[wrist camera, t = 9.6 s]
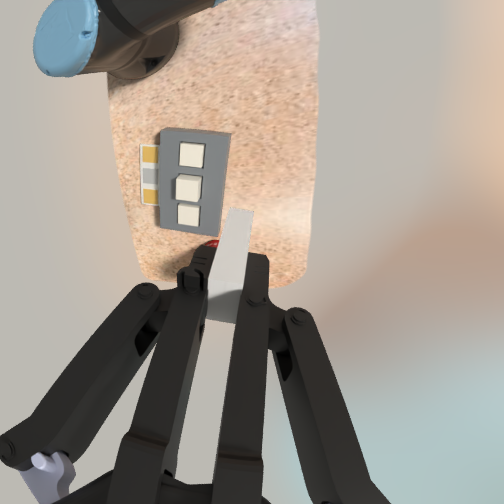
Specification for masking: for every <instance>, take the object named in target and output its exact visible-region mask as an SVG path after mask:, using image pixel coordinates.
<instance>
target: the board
mask: <svg viewBox="0 0 504 504" xmlns="http://www.w3.org/2000/svg"><path fill="white" fill-rule="evenodd" d="M230 140H231V133H224V132H216V131H207V130H196V129H185V128H170V127H166V128H164V129H163V130H161V133H160V164H159V200H160V228H164V229H171V230H177V231H183V232H190V233H196V234H202V235H208V236H214V237H218V234H219V231H220V225H221V216H222V206H223V197H224V189H225V180H226V172H227V164H228V156H229V148H230ZM183 141H184V142H194V143H204V144H206V148H205V159H204V165H203V166H202V168H199V167H190V166H181V165H179V163H180V145H181V143H182V142H183ZM180 174H185V175H193V176H201V177H202V180H201V194H200V198H199V200H198V202H192V201H185V200H177V199H176V179H177V177H178V176H179V175H180ZM179 203H184V204H191V205H198V206H201V212H200V223H199V225H198V227H197V226H191V225H184V224H178V205H179Z"/></svg>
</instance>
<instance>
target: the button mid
mask: <svg viewBox="0 0 504 504" xmlns="http://www.w3.org/2000/svg"><path fill="white" fill-rule="evenodd" d="M201 180H202V177H201V176H193V175H185V174H180V175H179V176H178V177H177V179H176V199H177V200H185V201H192V202H198V200H199V198H200V194H201Z"/></svg>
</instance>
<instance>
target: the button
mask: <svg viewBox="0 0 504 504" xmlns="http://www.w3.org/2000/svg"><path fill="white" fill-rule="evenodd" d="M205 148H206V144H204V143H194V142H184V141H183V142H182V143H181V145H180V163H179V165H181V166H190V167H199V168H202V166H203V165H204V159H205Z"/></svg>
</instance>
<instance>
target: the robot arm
mask: <svg viewBox="0 0 504 504" xmlns="http://www.w3.org/2000/svg"><path fill="white" fill-rule="evenodd" d="M224 1H227V0H54V1H53V2H52V3H51V4H50V5H49V6H48V8H47V9H46V10H45V12H44V13H43V15H42V17H41V19H40V21H39V23H38V25H37V28H36V34H35V37H34V42H33V53H34V58H35V61H36V64H37V66H38V67H39V69H40V70H41V71H42V72H43V73H44V74H46V75H48V76H52V77H73V76H75V75H80V74H88V73H97V72H108V73H110V74H111V75H113V76H115V77H117V78H121V79H139V78H144V77H147V76H149V75H152V74H153V73H155V72H157V71H158V70H160V69H161V68H162V67H163V66H164V65H165V64H166V63H167V62H168V61H169V60H170V58H171V57H172V55H173V54H174V52H175V50H176V47H177V44H178V40H179V28H178V24H177V22H178V21H180V20H182V19H184V18H186V17H189V16H191V15H193V14H195V13H198V12H200V11H202V10H205V9H207V8H213V7H215V6H217V5H218V4H219V3H222V2H224ZM253 214H254V211H249V210H243V209H237V208H231V207H230V209H229V212H228V215H227V218H226V221H225V224H224V228H223V231H222V234H221V237H220V241H219V244H218V247H217V248H216V247H210V246H204V245H201V246H200V247H199V248H197V249H196V250H195V253H194V255H193V258H192V260H191V263H190V265H189V266H188V267H184V268H182V269H180V270H179V271H178V273H177V287H176V288H174V289H169V290H159V289H158V287H157V286H156V285H154V284H152V283H141V284H138V285H137V286H135V287H134V288H133V289H132V290H131V291H130V292H129V293H128V294H127V296H126V297H125V298H124V299H123V300H122V301H121V302H120V304H119V305H118V306H117V307H116V308H115V309H114V310H113V311H112V313H111V314H110V315H109V316H108V317H107V318H106V319H105V321H104V322H103V323H102V324H101V325H100V326H99V328H98V329H97V330H96V331H95V333H94V334H93V335H92V336H91V337H90V338H89V340H88V341H87V342H86V343H85V345H84V346H83V347H82V348H81V349H80V351H79V352H78V353H77V355H76V356H75V357H74V358H73V360H72V361H71V362H70V363H69V364H68V366H67V367H66V369H65V370H64V371H63V372H62V373H61V375H60V376H59V378H58V379H57V380H56V381H55V383H54V384H53V385H52V387H51V388H50V390H49V391H48V393H47V394H46V395H45V396H44V398H43V399H42V400H41V402H40V403H39V405H38V406H37V407H36V409H35V410H34V412H33V413H32V415H31V416H30V417H28V418H27V419H25V420H24V421H22V422H21V423H19V424H18V425H16V426H15V427H13V428H11V429H10V430H8V431H7V432H5V433H4V434H2V435H1V436H0V459H1V461H2V462H3V463H4V464H5V465H7V466H9V467H12V468H14V469H16V470H18V471H19V472H20V474H21V476H22V477H23V479H24V481H25V482H26V484H27V486H28V487H29V489H30V490H31V492H32V493H33V495H34V496H35V498H36V499H37V501H38V502H39V504H271V503H270V502H269V501H268V500H267V499H265V498H264V497H263V496H262V483H263V467H264V466H263V460H262V455H261V454H262V439H263V424H264V408H265V391H266V374H267V355H268V349H270V350H272V353H273V358H274V362H275V366H276V369H277V374H278V378H279V381H280V385H281V390H282V394H283V398H284V402H285V406H286V409H287V413H288V417H289V421H290V425H291V429H292V433H293V437H294V441H295V445H296V449H297V453H298V457H299V461H300V464H301V469H302V472H303V476H304V480H305V484H306V487H307V490H308V494H309V496H310V498H311V500H312V502H313V504H391V503H390V502H389V501H388V500H387V499H386V497H385V496H384V495H383V494H382V493H381V491H380V490H379V489H378V488H377V487H376V486H375V484H374V483H373V482H372V481H371V479H370V476H369V473H368V470H367V466H366V463H365V460H364V457H363V454H362V451H361V448H360V445H359V442H358V439H357V436H356V433H355V430H354V427H353V424H352V421H351V418H350V416H349V413H348V410H347V407H346V404H345V401H344V399H343V396H342V393H341V390H340V388H339V385H338V382H337V379H336V377H335V374H334V371H333V369H332V366H331V363H330V361H329V358H328V355H327V353H326V350H325V347H324V345H323V342H322V340H321V337H320V334H319V332H318V329H317V327H316V324H315V322H314V319H313V317H312V315H311V314H310V313H309V312H308V311H307V310H305V309H302V308H297V307H294V308H290V309H288V310H287V311H285V310H283V309H281V308H279V307H277V306H275V305H274V304H273V303H272V302H271V301H270V299H269V296H268V287H269V260H268V258H267V256H266V255H263V254H257V253H250V252H248V249H249V242H250V235H251V228H252V221H253ZM205 319H210V320H216V321H221V322H227V323H233V324H236V325H235V331H234V337H233V344H232V351H231V357H230V365H229V371H228V378H227V385H226V392H225V399H224V406H223V412H222V419H221V426H220V433H219V440H218V447H217V454H216V461H215V467H214V474H213V480H212V484H193V485H190V484H185V483H183V482H181V481H179V480H176V479H175V474H176V468H177V454H178V449H179V443H180V438H181V433H182V428H183V423H184V418H185V414H186V408H187V404H188V399H189V395H190V390H191V385H192V381H193V376H194V371H195V367H196V363H197V358H198V354H199V349H200V345H201V341H202V336H203V332H204V328H205ZM156 343H157V344H156ZM155 344H156V347H155V350H154V353H153V356H152V359H151V362H150V365H149V368H148V371H147V374H146V377H145V380H144V383H143V387H142V390H141V393H140V396H139V400H138V403H137V406H136V410H135V413H134V417H133V420H132V424H131V427H130V429H129V431H128V432H127V433H126V434H125V435H124V436H123V438H122V441H121V443H120V447H119V451H118V455H117V459H116V463H115V467H114V469H113V470H111V471H109V472H107V473H105V474H103V475H102V476H100V477H99V478H97V479H95V480H94V481H92V482H90V483H89V484H87V485H85V486H83V487H82V488H80V489H78V490H76V491H75V492H73V493H71V494H69V485H70V483H71V482H72V481H73V479H74V477H75V476H76V472H75V469H74V466H73V463H74V462H76V461H77V460H78V459H79V458H80V457H81V456H82V455H83V454H84V452H85V451H86V449H87V448H88V447H89V445H90V444H91V442H92V440H93V439H94V437H95V436H96V434H97V432H98V431H99V429H100V428H101V426H102V425H103V423H104V421H105V420H106V418H107V417H108V415H109V414H110V412H111V410H112V409H113V407H114V406H115V404H116V403H117V401H118V400H119V398H120V397H121V395H122V394H123V392H124V391H125V389H126V387H127V386H128V385H129V383H130V382H131V380H132V379H133V377H134V376H135V374H136V373H137V371H138V369H139V368H140V367H141V365H142V364H143V362H144V361H145V359H146V358H147V356H148V355H149V353H150V352H151V350H152V349H153V347H154V346H155Z"/></svg>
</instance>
